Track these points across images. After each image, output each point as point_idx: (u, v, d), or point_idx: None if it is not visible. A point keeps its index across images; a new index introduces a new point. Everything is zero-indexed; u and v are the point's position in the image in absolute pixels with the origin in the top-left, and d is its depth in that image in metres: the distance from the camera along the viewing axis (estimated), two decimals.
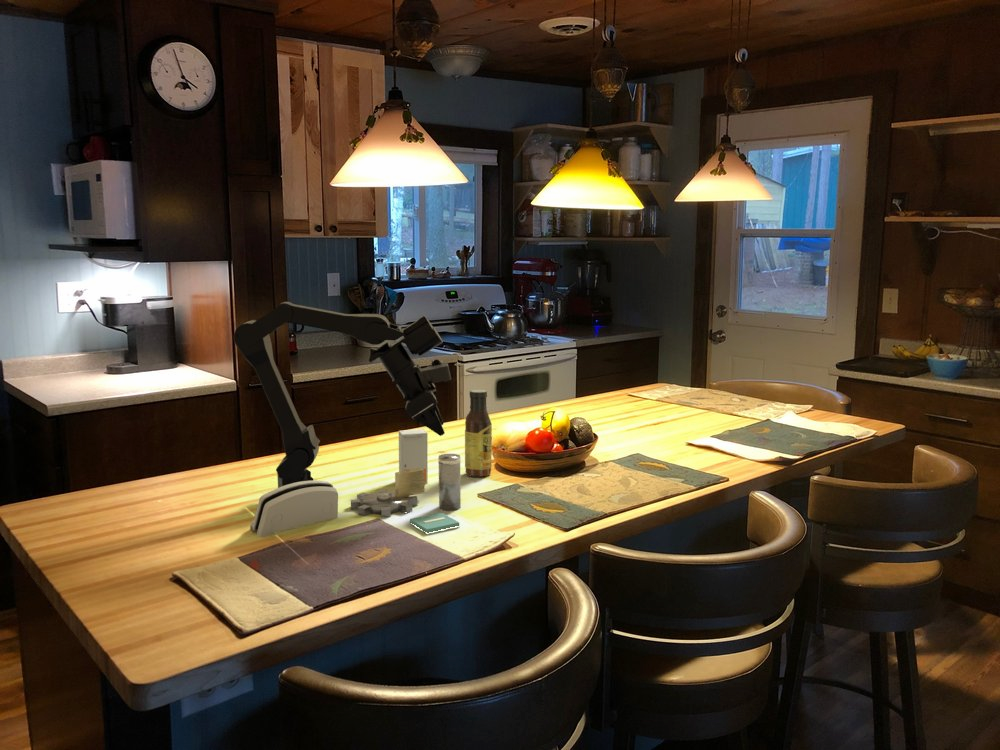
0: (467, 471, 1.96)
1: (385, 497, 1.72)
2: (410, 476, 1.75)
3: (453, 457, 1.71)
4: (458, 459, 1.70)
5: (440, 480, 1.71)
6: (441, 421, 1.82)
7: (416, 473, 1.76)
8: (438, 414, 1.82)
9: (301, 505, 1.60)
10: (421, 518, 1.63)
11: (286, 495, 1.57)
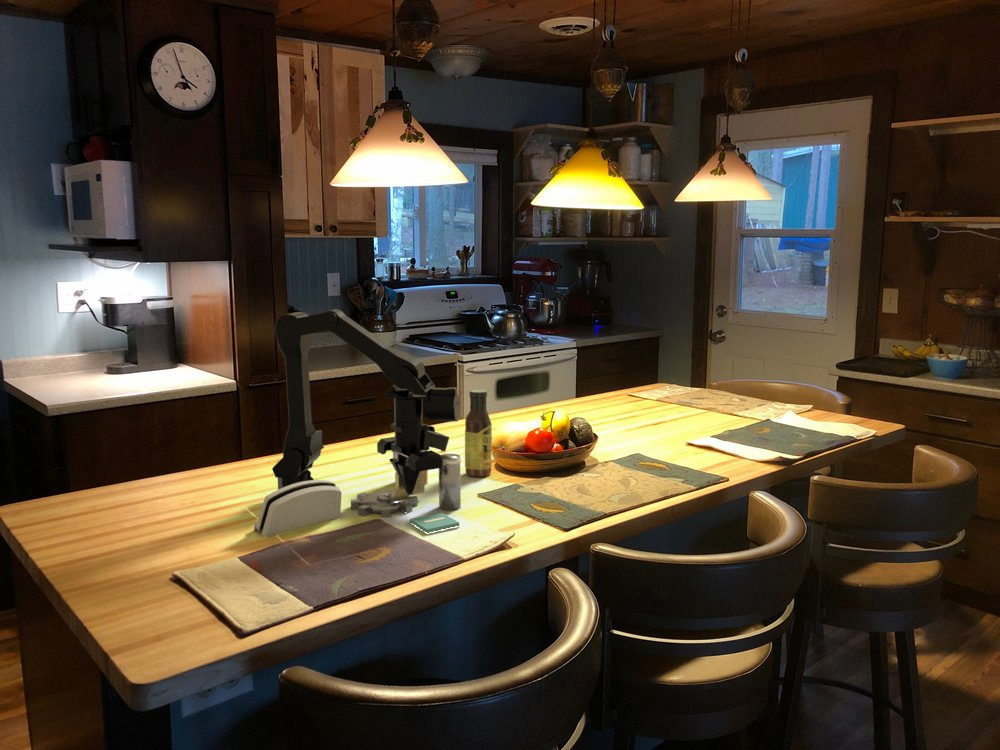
0: (467, 471, 1.96)
1: (385, 497, 1.72)
2: None
3: (453, 457, 1.71)
4: (458, 459, 1.70)
5: (440, 480, 1.71)
6: None
7: None
8: None
9: (306, 505, 1.60)
10: (421, 518, 1.63)
11: (291, 495, 1.57)
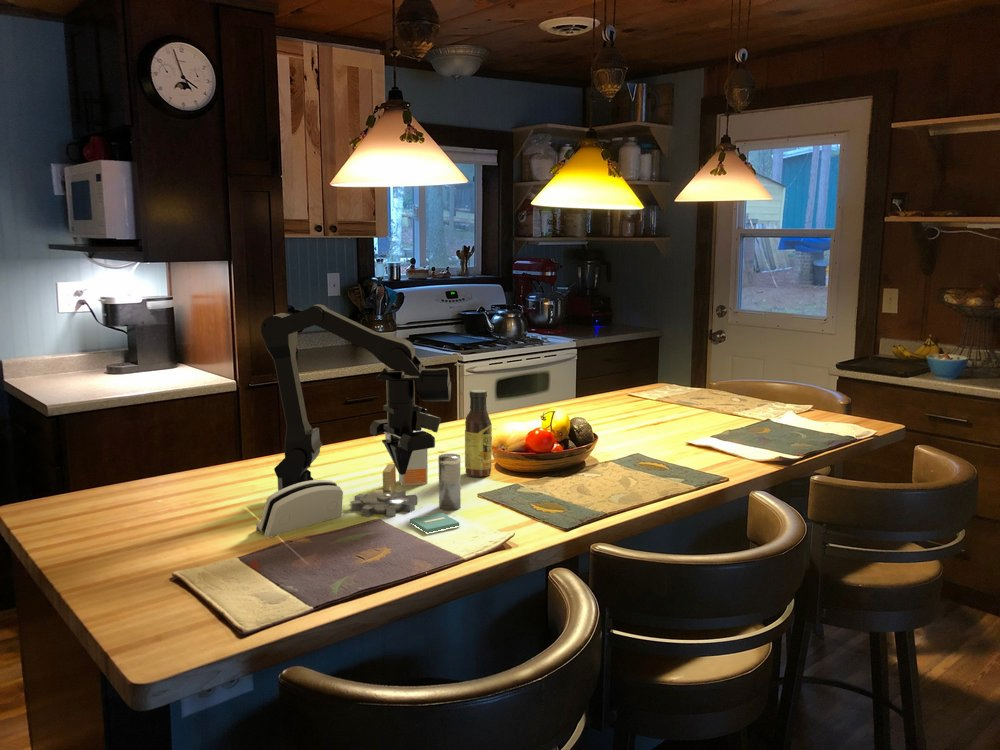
0: (467, 471, 1.96)
1: (390, 495, 1.73)
2: (392, 471, 1.78)
3: (453, 457, 1.71)
4: (458, 459, 1.70)
5: (440, 480, 1.71)
6: None
7: (393, 468, 1.80)
8: None
9: (308, 504, 1.60)
10: (421, 518, 1.63)
11: (294, 495, 1.57)
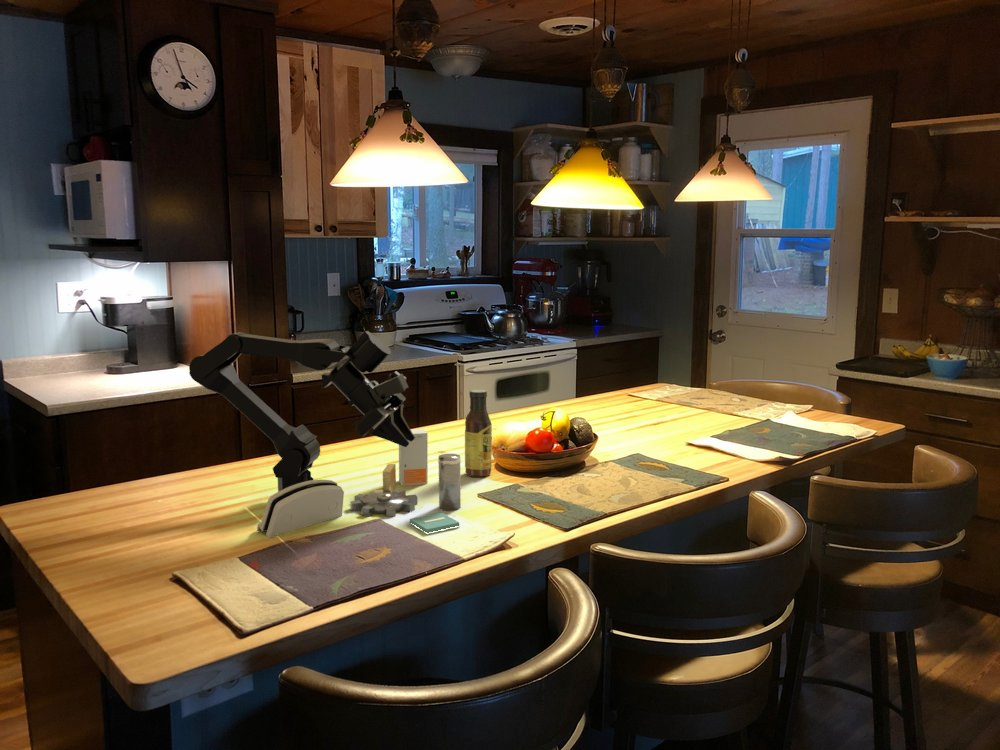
0: (467, 471, 1.96)
1: (390, 495, 1.73)
2: (392, 471, 1.78)
3: (453, 457, 1.71)
4: (458, 459, 1.70)
5: (440, 480, 1.71)
6: (411, 436, 1.74)
7: (393, 468, 1.80)
8: (407, 429, 1.74)
9: (309, 504, 1.60)
10: (421, 518, 1.63)
11: (296, 495, 1.57)
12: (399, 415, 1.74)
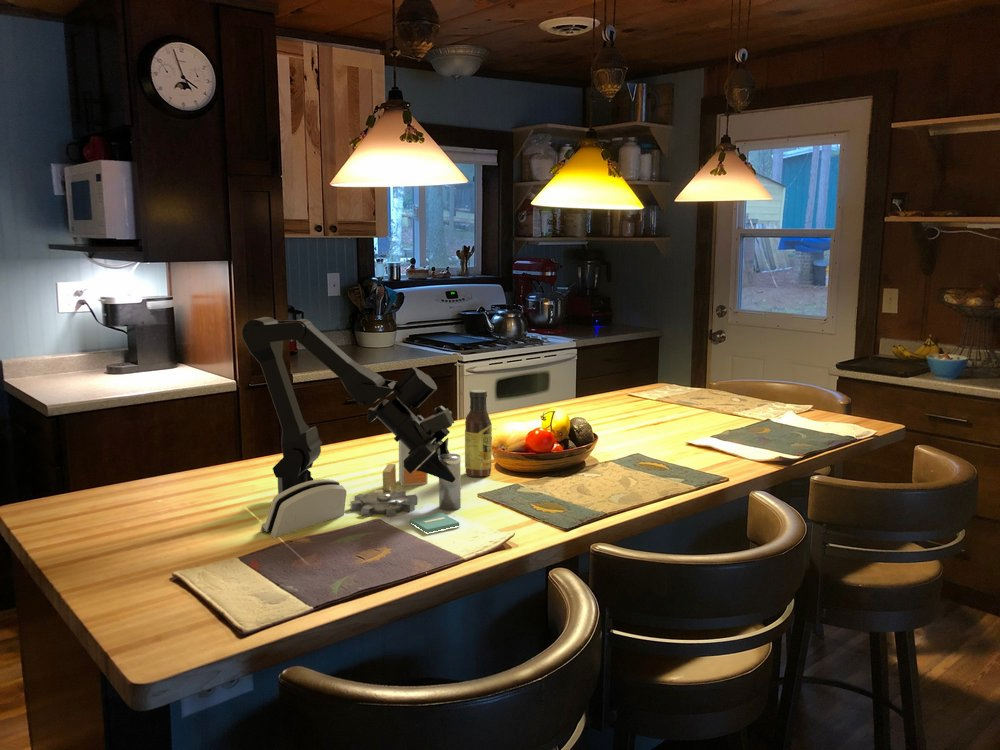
0: (467, 471, 1.96)
1: (390, 495, 1.73)
2: (392, 471, 1.78)
3: (453, 457, 1.71)
4: (458, 459, 1.70)
5: (440, 480, 1.71)
6: None
7: (393, 468, 1.80)
8: None
9: (313, 504, 1.60)
10: (421, 518, 1.63)
11: (300, 494, 1.57)
12: (445, 450, 1.74)
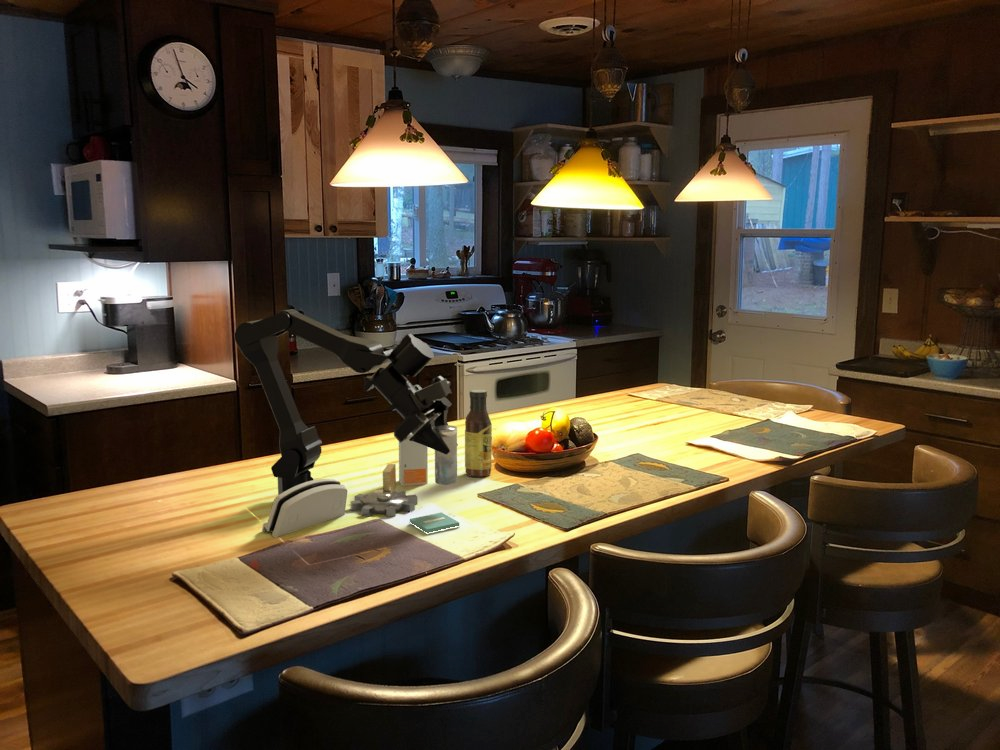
0: (467, 471, 1.96)
1: (390, 495, 1.73)
2: (392, 471, 1.78)
3: (449, 428, 1.65)
4: (454, 431, 1.65)
5: (435, 451, 1.66)
6: None
7: (393, 468, 1.80)
8: None
9: (315, 504, 1.60)
10: (421, 518, 1.63)
11: (302, 494, 1.57)
12: (443, 421, 1.69)
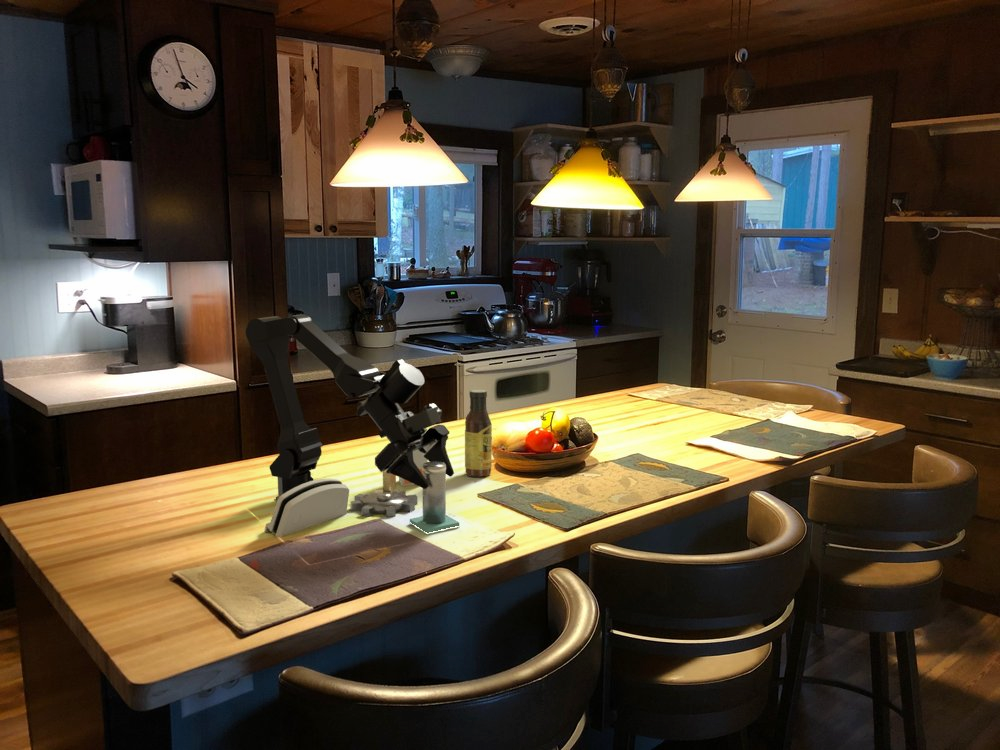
0: (467, 471, 1.96)
1: (390, 495, 1.73)
2: None
3: (436, 466, 1.59)
4: (441, 469, 1.59)
5: None
6: (450, 471, 1.64)
7: None
8: (446, 463, 1.64)
9: (318, 503, 1.61)
10: (421, 518, 1.63)
11: (305, 494, 1.58)
12: (440, 448, 1.65)
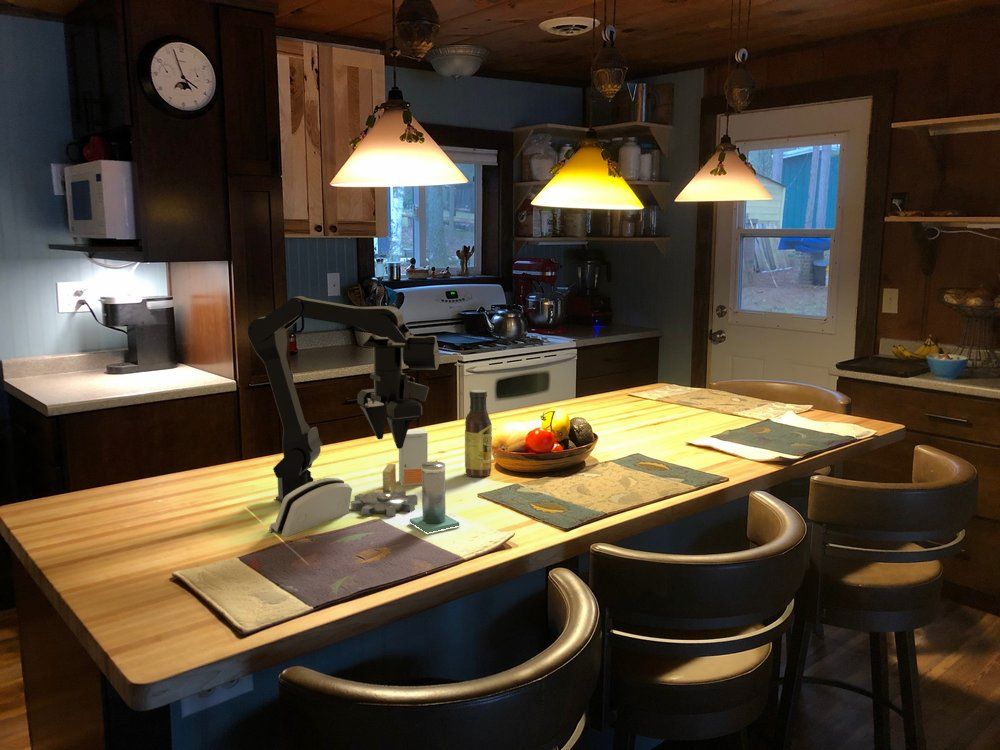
0: (467, 471, 1.96)
1: (390, 495, 1.73)
2: (392, 471, 1.78)
3: (435, 466, 1.59)
4: (440, 468, 1.59)
5: (422, 488, 1.61)
6: (382, 435, 1.77)
7: (393, 468, 1.80)
8: (382, 427, 1.77)
9: (322, 503, 1.61)
10: (421, 518, 1.63)
11: (311, 493, 1.58)
12: (385, 412, 1.78)
